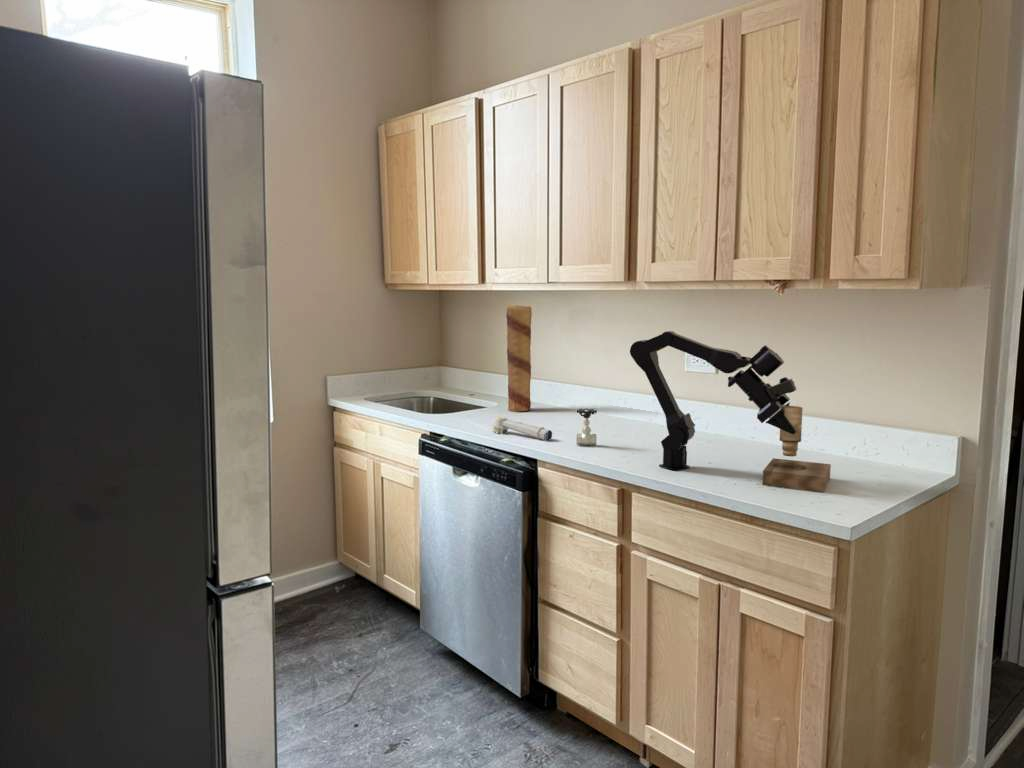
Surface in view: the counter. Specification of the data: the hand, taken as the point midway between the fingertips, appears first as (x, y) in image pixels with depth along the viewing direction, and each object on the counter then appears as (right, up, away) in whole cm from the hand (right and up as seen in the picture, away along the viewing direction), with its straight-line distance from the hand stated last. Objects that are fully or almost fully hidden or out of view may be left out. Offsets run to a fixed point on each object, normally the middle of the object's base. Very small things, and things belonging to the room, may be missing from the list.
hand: (796, 431), depth 193 cm
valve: (-51, -8, +48) cm, 71 cm away
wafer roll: (-73, +1, +119) cm, 140 cm away
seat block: (+1, -14, +1) cm, 14 cm away
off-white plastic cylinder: (-73, -6, +64) cm, 97 cm away
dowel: (-1, -6, +1) cm, 7 cm away
